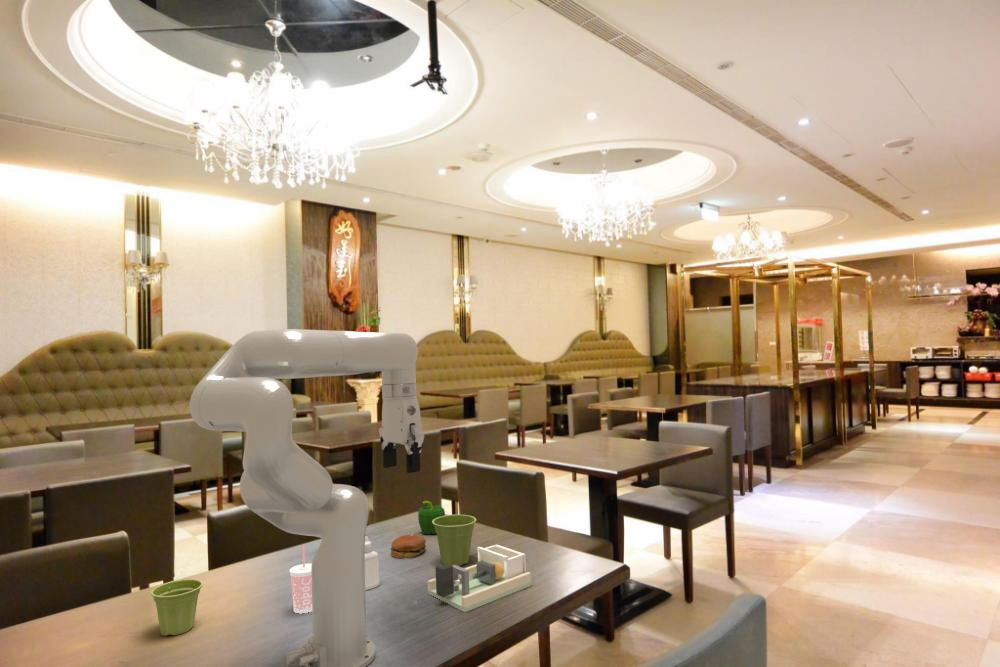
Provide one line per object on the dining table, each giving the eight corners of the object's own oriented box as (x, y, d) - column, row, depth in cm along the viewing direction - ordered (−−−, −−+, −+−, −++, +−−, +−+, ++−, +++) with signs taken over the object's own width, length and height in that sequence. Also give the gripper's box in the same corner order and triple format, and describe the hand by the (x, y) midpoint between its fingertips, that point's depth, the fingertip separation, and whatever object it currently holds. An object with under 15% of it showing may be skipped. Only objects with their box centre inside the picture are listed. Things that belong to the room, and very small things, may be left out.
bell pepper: (448, 528, 185) (447, 497, 185) (442, 536, 177) (441, 503, 177) (422, 528, 186) (421, 497, 186) (415, 536, 178) (414, 503, 178)
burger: (391, 561, 157) (391, 543, 157) (390, 550, 166) (390, 534, 166) (428, 557, 159) (427, 540, 159) (424, 546, 168) (424, 530, 168)
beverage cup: (288, 617, 124) (287, 551, 124) (291, 605, 130) (290, 542, 130) (318, 613, 125) (317, 547, 126) (319, 601, 131) (318, 539, 132)
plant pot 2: (483, 565, 150) (482, 522, 151) (440, 573, 146) (438, 528, 147) (469, 552, 161) (468, 511, 162) (428, 559, 157) (427, 517, 157)
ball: (499, 561, 137) (509, 567, 139) (488, 558, 140) (498, 563, 142) (492, 578, 135) (503, 584, 137) (481, 574, 138) (492, 579, 140)
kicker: (446, 601, 125) (445, 571, 126) (433, 594, 129) (432, 565, 129) (495, 582, 135) (494, 554, 135) (482, 577, 139) (481, 549, 139)
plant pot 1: (191, 615, 126) (191, 575, 127) (210, 627, 120) (210, 584, 121) (144, 632, 119) (143, 589, 120) (162, 645, 113) (161, 600, 114)
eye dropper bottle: (378, 589, 137) (377, 538, 138) (354, 592, 136) (353, 540, 137) (380, 582, 141) (378, 533, 142) (356, 584, 140) (355, 535, 141)
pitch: (464, 612, 123) (463, 575, 123) (427, 593, 134) (426, 559, 134) (531, 585, 136) (530, 552, 137) (493, 570, 147) (492, 539, 147)
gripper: (435, 391, 124) (437, 471, 123) (393, 390, 137) (395, 462, 136) (405, 394, 119) (407, 477, 118) (365, 392, 132) (367, 467, 131)
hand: (401, 469), depth 127 cm, fingers open, 9 cm apart
